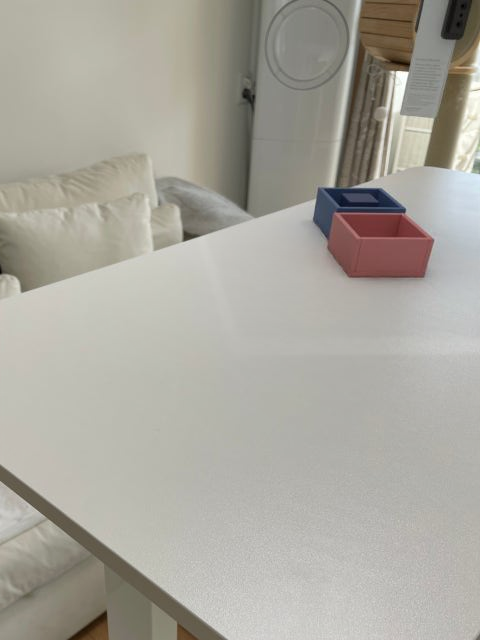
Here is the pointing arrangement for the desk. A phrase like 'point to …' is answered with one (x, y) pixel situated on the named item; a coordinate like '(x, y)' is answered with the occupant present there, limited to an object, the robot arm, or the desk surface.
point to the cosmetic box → (428, 63)
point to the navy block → (358, 200)
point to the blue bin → (330, 204)
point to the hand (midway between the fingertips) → (436, 36)
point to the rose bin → (379, 245)
